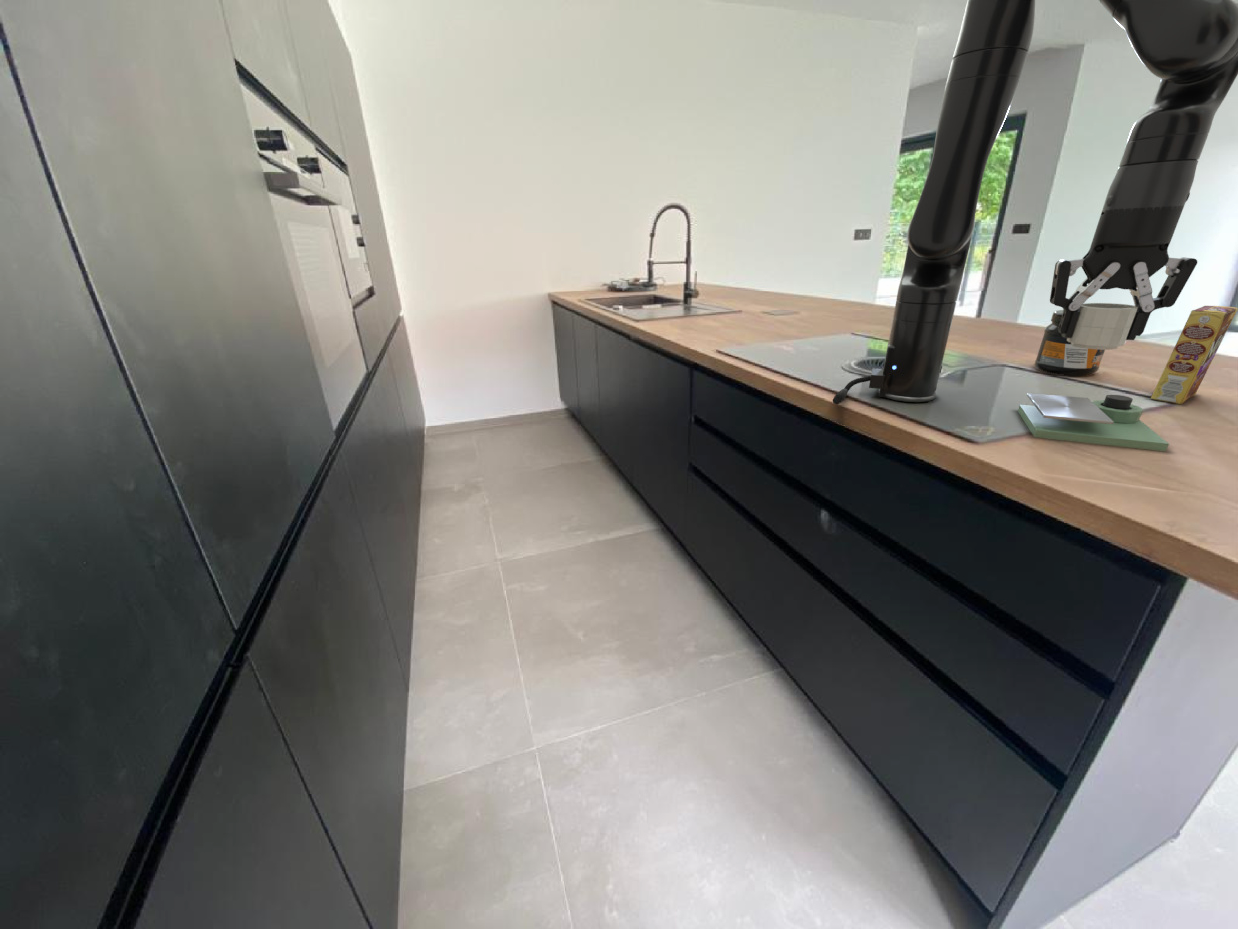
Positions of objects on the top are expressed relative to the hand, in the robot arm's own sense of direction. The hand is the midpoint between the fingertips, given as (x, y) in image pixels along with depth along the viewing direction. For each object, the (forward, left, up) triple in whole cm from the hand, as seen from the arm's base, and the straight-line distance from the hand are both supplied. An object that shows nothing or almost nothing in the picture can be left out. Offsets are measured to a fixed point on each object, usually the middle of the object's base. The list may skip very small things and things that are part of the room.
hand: (1096, 337), depth 71 cm
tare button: (+7, +6, -11) cm, 15 cm away
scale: (+3, +2, -14) cm, 15 cm away
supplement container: (+9, +42, -14) cm, 45 cm away
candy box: (+21, +26, -14) cm, 36 cm away
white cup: (0, 0, -1) cm, 1 cm away
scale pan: (0, +2, -11) cm, 11 cm away
